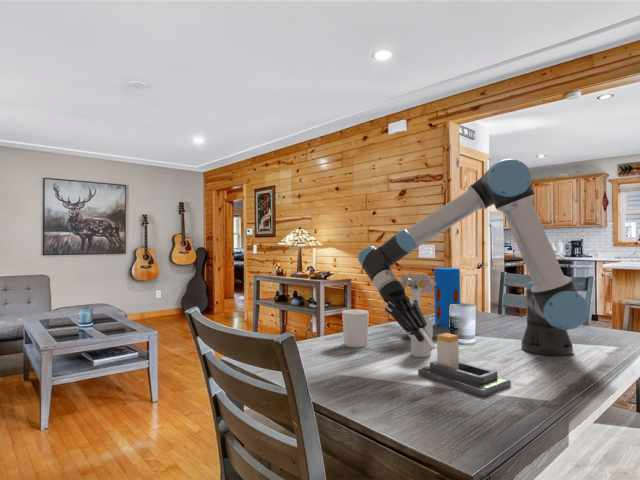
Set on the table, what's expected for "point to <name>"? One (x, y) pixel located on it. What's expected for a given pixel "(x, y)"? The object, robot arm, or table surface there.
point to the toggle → (448, 350)
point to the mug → (417, 346)
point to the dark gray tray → (466, 378)
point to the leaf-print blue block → (445, 293)
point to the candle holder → (355, 327)
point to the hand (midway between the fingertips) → (431, 349)
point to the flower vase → (417, 286)
